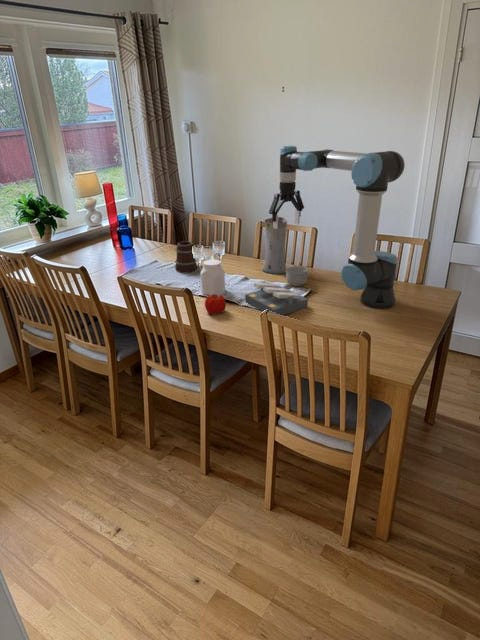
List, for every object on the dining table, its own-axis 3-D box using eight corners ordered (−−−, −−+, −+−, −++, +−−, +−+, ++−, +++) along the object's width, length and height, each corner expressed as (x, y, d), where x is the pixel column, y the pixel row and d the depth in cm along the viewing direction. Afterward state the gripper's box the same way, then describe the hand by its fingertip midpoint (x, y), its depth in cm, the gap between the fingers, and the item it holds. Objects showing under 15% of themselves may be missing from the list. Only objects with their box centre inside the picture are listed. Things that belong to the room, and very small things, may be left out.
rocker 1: (278, 288, 204) (279, 285, 203) (258, 288, 196) (259, 284, 196) (273, 286, 207) (274, 283, 206) (253, 285, 199) (254, 282, 199)
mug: (189, 274, 238) (187, 247, 231) (171, 270, 243) (169, 244, 236) (205, 265, 250) (203, 239, 243) (187, 262, 255) (185, 237, 248)
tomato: (201, 312, 194) (200, 296, 190) (216, 306, 199) (216, 290, 196) (215, 318, 188) (215, 302, 184) (230, 312, 193) (230, 296, 190)
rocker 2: (288, 293, 198) (289, 290, 198) (268, 293, 191) (269, 289, 191) (282, 290, 201) (283, 287, 201) (262, 290, 194) (263, 286, 194)
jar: (228, 290, 216) (227, 260, 209) (219, 297, 208) (217, 267, 202) (208, 286, 221) (206, 257, 214) (198, 293, 213) (196, 263, 206)
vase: (259, 274, 236) (260, 222, 223) (266, 265, 248) (266, 216, 235) (283, 276, 233) (285, 224, 220) (288, 267, 244) (290, 217, 231)
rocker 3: (299, 298, 193) (299, 295, 193) (278, 298, 186) (279, 294, 185) (293, 295, 196) (293, 292, 196) (272, 295, 189) (273, 291, 188)
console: (307, 307, 196) (308, 291, 193) (274, 318, 187) (274, 302, 183) (277, 292, 212) (277, 278, 208) (245, 302, 202) (245, 287, 199)
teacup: (306, 288, 216) (307, 273, 212) (284, 287, 218) (284, 272, 214) (308, 278, 228) (308, 264, 224) (287, 277, 230) (287, 263, 226)
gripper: (302, 177, 216) (300, 220, 225) (261, 183, 203) (261, 228, 213) (312, 179, 210) (310, 223, 220) (271, 185, 198) (271, 231, 207)
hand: (286, 226), depth 216 cm, fingers open, 13 cm apart
